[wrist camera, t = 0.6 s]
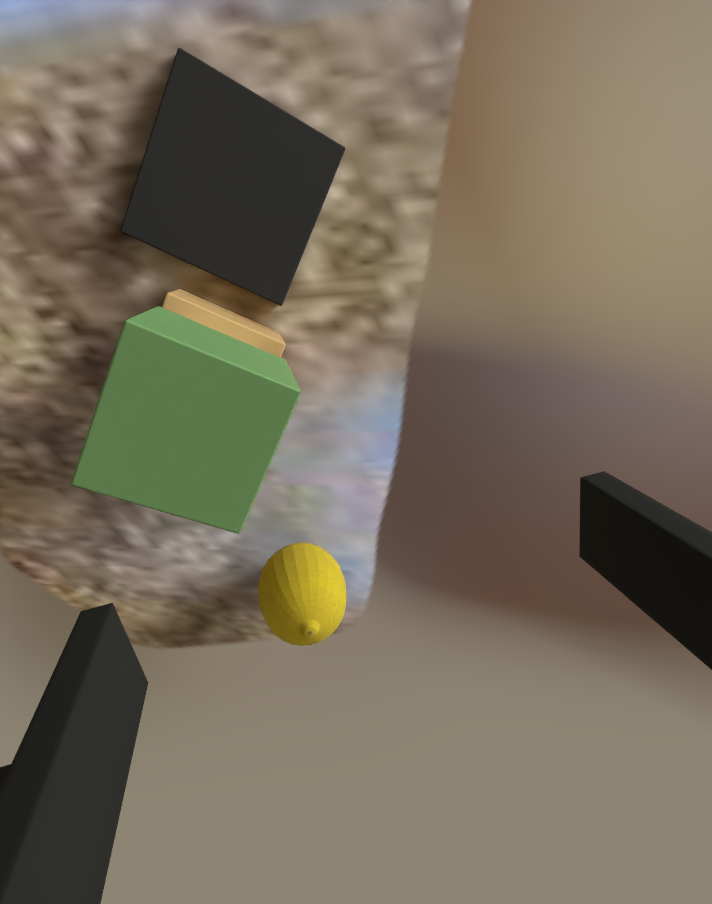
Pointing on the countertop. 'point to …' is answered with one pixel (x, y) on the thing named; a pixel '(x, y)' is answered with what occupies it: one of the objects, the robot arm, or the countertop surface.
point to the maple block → (224, 321)
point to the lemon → (302, 594)
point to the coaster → (230, 181)
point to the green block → (186, 420)
